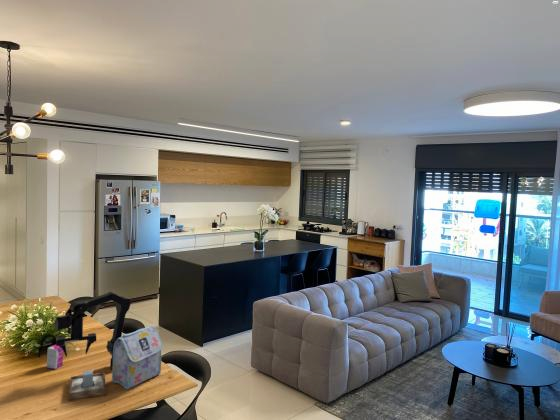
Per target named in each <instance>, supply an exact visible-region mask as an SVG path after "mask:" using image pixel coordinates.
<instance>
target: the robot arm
mask: <svg viewBox="0 0 560 420" xmlns="http://www.w3.org/2000/svg"><path fill="white" fill-rule="evenodd" d="M111 301H113V302H115V310H116V317H115V321H114V327H113V332H112V336H111V339H110V340H107V342H106V343H107V344H106V346H105V348H106V351H107V352H108V353H109V354H110V356H111V358H110V366H109V367H110V369H111V370H112V367H113V348H114V344H115V342H116V340H117V339H118V338H120V337H122V336H123V330H124V325H125V321H126V320H125V319H126V314H127V313H128V311H129V310H130V308H131V307H130V306H131V304H132V302H131V299H129V298H127V297H125V296H124V295H123V296H120V295H118V294H116V293H115V292H112V291H108V292H107V293H104V294H100V295H98V296H95V297H93V298H92V297H91V298H89V299H82V300H77V301H76V300H75V301H73V302H71V304H70V305H69V308H68V309H67V310H66V312H65V313H64V315H61V316H60V315H59V316H56V317H55V320H54V322H53V327H54V330H55V331H56V332H58V331H61V330H66V329H67V335H70V337H68V338H67V337H66V336H65V335H63V336H57V337H56V339H55V341H56V342H55V345H56V346H59V347H61V348H62V349H63V354H64V355H65V358H67V357H68V350H67V343H72V342H79V341H86V346H85V355H87V354H88V352H89V349H90V347H91V345H92V344H94V342H97V333H96V332H92V333H88V334H87V335H85V336H84V318H87V317H88V315H87V314H86V312H87V311H89V310H90V309H91V308H94V307H97V306H99V305H102V304H105V303H106V304H107V303H108V302H111Z"/></svg>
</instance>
